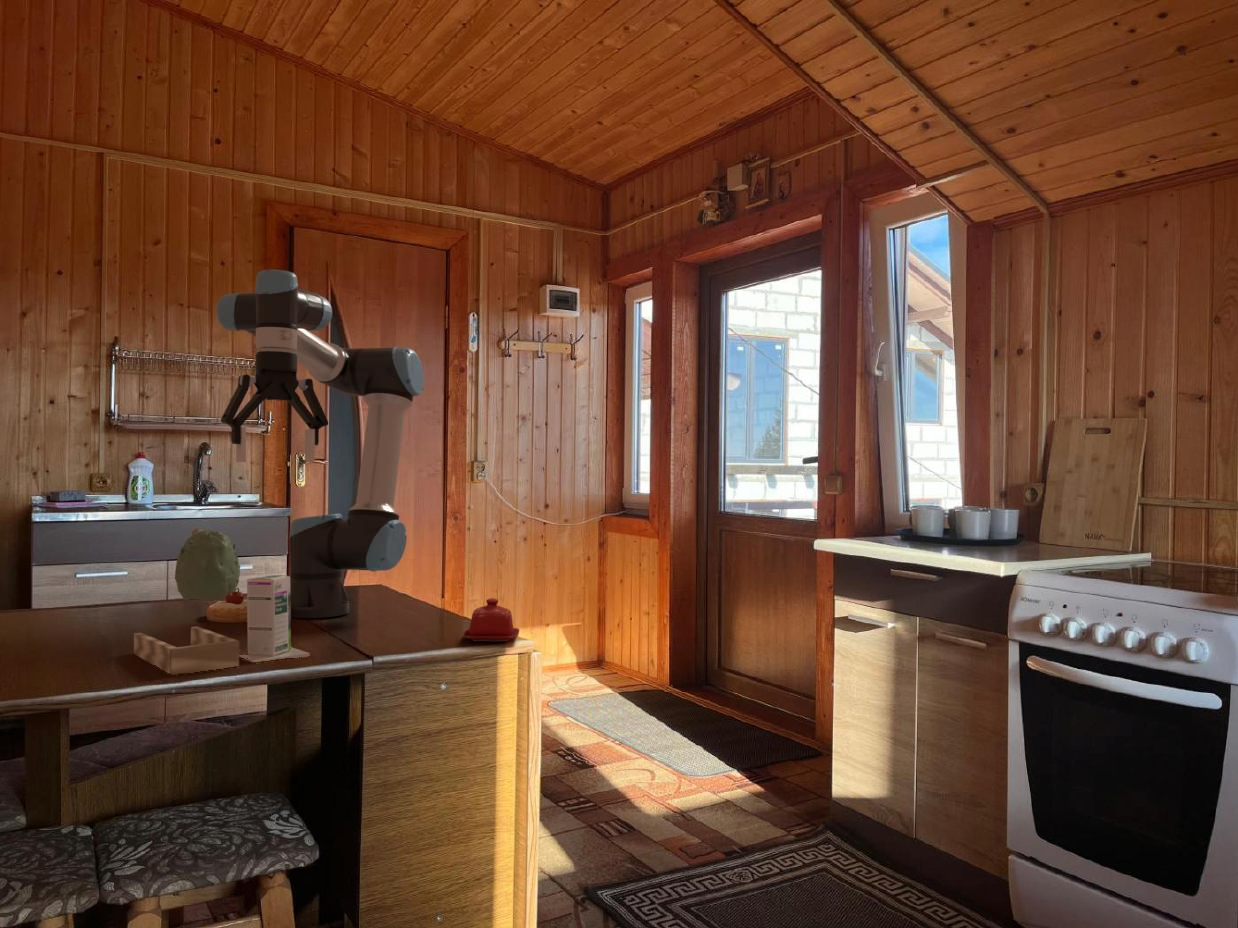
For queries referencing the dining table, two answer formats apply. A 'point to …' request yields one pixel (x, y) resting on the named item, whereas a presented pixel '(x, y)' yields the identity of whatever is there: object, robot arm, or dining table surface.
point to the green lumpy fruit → (207, 566)
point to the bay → (189, 652)
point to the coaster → (277, 656)
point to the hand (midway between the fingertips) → (276, 462)
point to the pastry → (229, 609)
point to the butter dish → (491, 623)
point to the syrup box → (268, 615)
